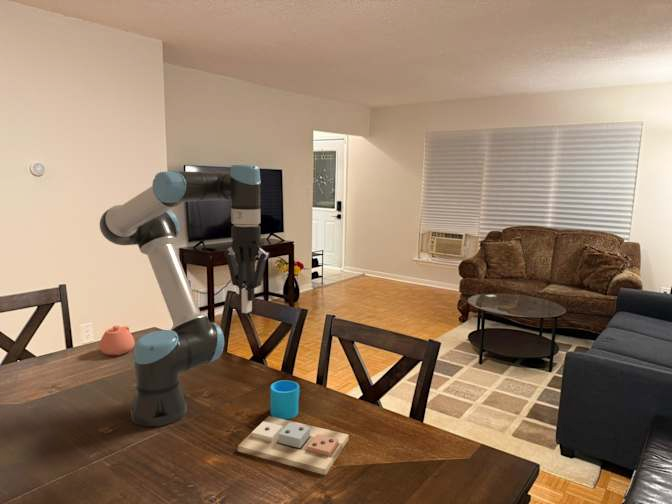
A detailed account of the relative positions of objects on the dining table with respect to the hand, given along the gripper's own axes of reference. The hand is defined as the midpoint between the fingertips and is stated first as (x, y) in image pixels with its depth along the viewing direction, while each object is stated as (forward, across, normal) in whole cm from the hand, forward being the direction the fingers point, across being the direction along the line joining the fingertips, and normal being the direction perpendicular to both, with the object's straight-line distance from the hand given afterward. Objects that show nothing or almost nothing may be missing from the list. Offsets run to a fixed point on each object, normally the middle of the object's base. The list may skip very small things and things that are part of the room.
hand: (246, 311), depth 127 cm
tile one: (+32, +9, -5) cm, 34 cm away
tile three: (+32, +25, -5) cm, 41 cm away
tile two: (+31, +17, -5) cm, 35 cm away
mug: (+33, +7, +11) cm, 35 cm away
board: (+32, +17, -5) cm, 37 cm away
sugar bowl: (+33, -73, +25) cm, 84 cm away
